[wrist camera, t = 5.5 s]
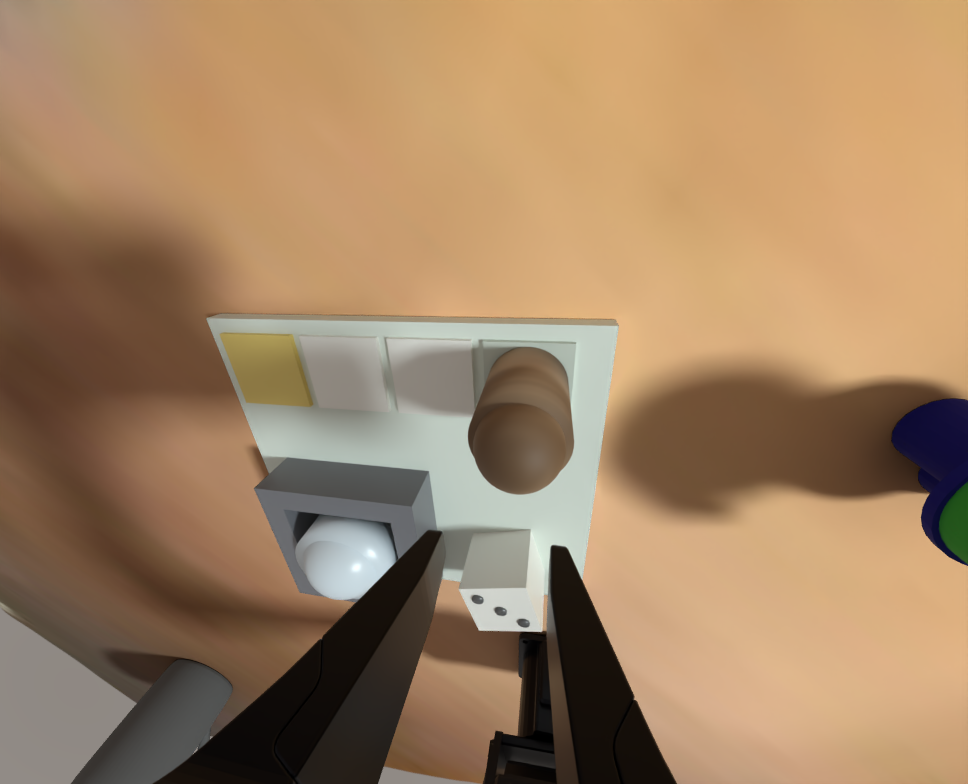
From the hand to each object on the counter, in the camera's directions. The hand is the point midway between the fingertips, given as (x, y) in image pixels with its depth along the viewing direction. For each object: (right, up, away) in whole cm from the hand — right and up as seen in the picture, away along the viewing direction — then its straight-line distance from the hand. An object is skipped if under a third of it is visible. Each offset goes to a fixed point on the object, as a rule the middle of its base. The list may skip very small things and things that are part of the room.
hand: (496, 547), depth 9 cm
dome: (-8, -5, +16) cm, 19 cm away
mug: (-38, -37, +40) cm, 67 cm away
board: (-5, -1, +14) cm, 15 cm away
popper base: (-8, -5, +17) cm, 19 cm away
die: (+1, -7, +15) cm, 16 cm away
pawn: (+2, +4, +8) cm, 10 cm away
